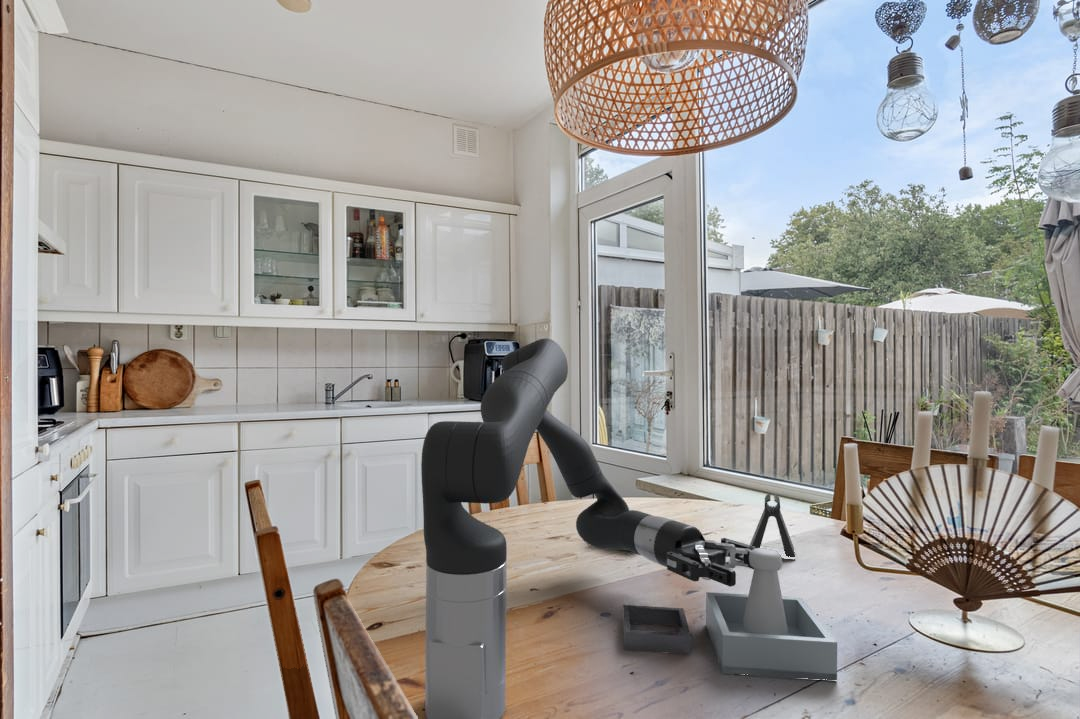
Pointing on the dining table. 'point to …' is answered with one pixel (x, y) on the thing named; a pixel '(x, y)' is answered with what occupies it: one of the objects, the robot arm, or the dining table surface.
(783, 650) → the bin
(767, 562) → the salt shaker
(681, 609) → the dark grey square tray
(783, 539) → the black a-shaped piece
